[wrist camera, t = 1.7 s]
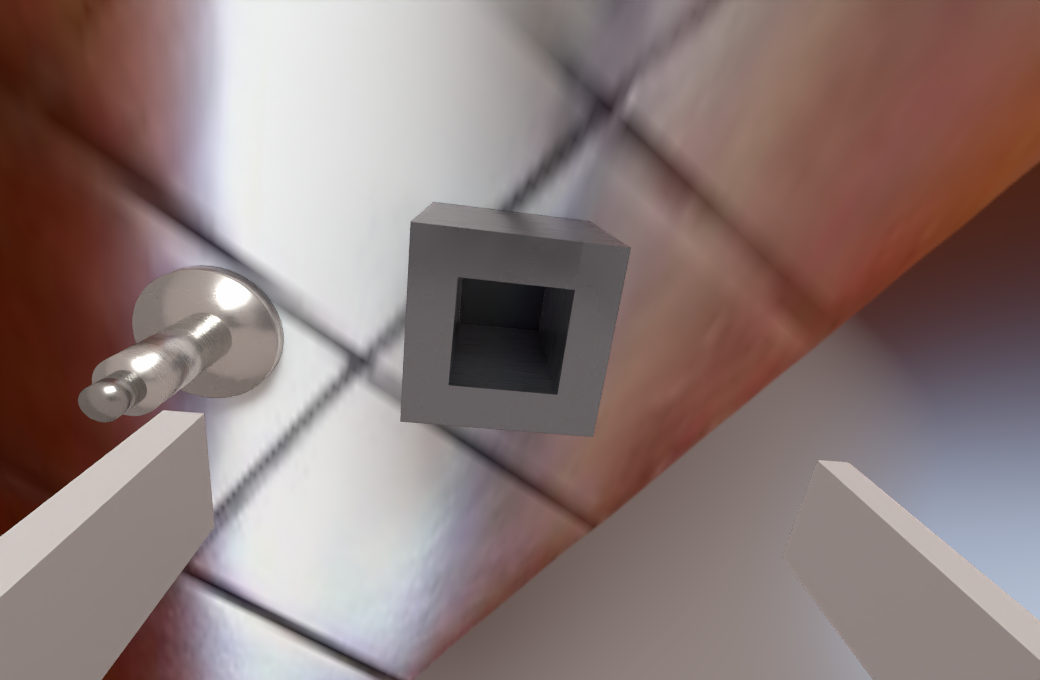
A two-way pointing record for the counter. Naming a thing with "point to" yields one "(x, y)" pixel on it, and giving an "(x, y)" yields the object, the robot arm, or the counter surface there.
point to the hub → (188, 344)
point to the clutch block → (501, 350)
